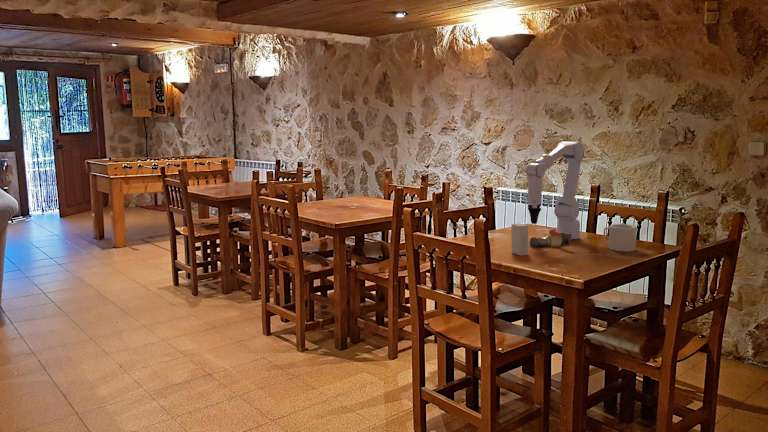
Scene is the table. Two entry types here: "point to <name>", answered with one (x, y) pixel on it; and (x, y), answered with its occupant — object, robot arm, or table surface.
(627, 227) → the mug
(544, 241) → the pipe
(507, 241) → the table surface
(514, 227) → the skincare box
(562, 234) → the lever
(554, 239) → the valve body
